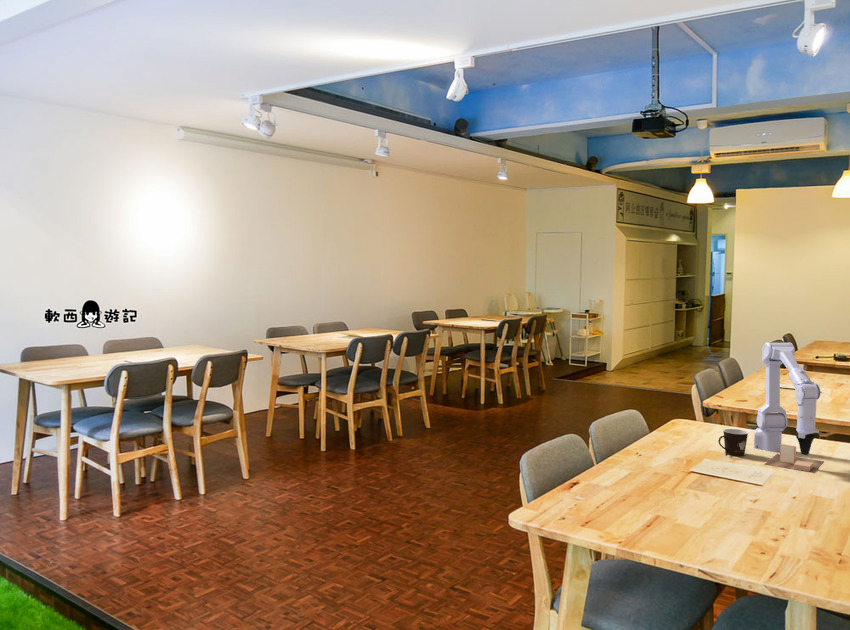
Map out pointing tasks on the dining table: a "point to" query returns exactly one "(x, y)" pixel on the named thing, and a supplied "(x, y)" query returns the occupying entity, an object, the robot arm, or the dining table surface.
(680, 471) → the dining table surface
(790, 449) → the tile left
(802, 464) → the tile right
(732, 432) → the coffee mug
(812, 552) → the dining table surface
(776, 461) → the board
